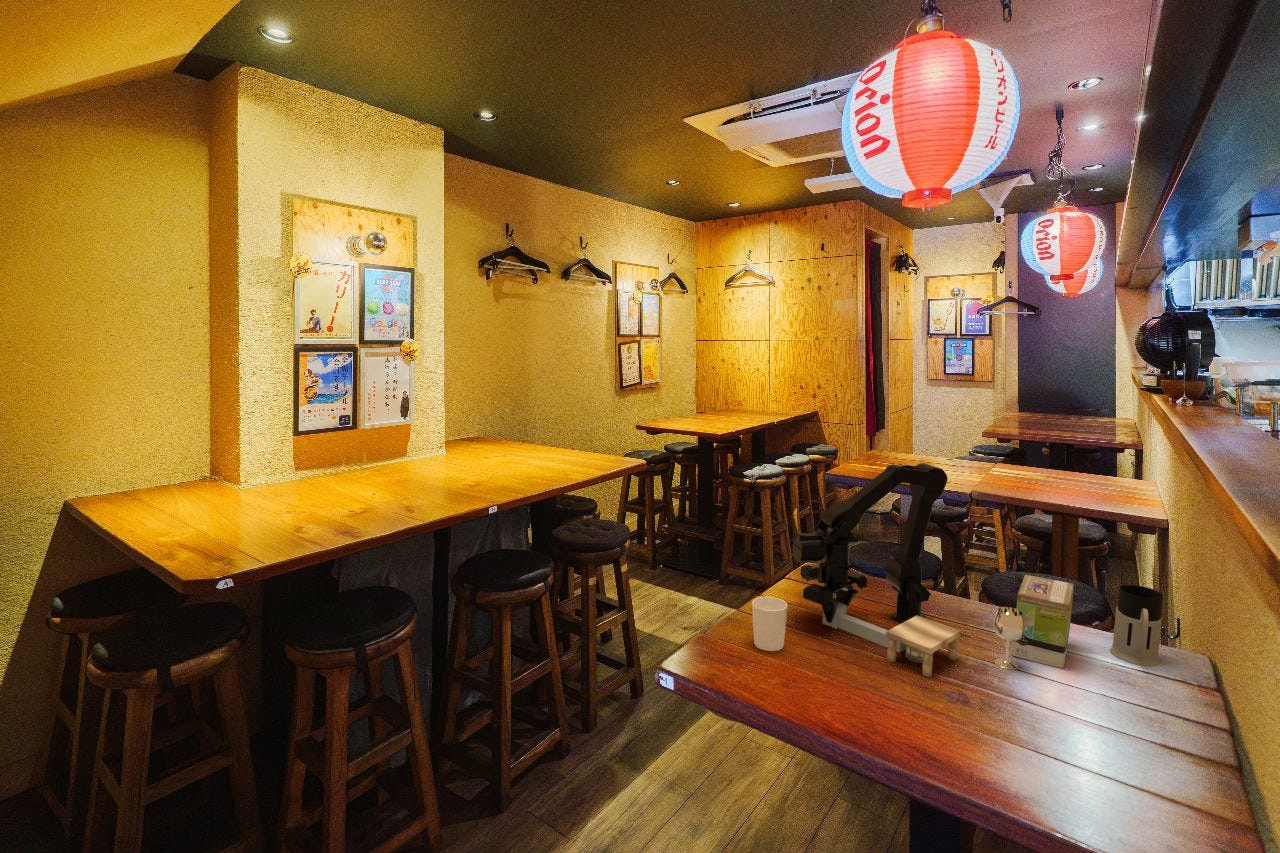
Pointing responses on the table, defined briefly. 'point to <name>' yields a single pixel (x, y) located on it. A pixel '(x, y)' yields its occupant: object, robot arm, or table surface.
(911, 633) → the hinoki shelf
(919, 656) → the steel puck
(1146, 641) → the glass holder
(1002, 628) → the wineglass
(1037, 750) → the table surface
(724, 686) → the table surface
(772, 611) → the white cup
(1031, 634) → the tea box
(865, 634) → the gray hammer
